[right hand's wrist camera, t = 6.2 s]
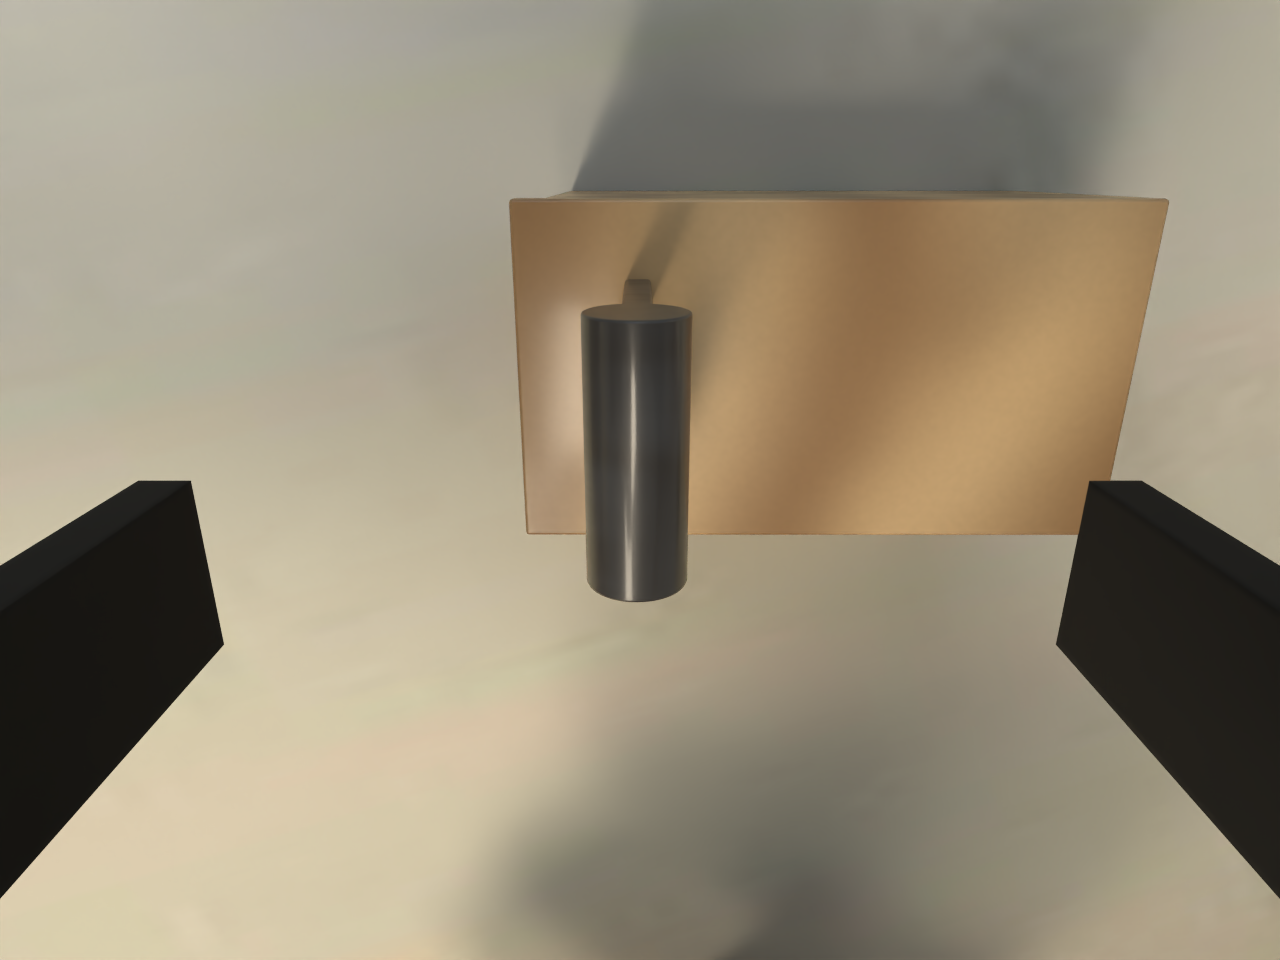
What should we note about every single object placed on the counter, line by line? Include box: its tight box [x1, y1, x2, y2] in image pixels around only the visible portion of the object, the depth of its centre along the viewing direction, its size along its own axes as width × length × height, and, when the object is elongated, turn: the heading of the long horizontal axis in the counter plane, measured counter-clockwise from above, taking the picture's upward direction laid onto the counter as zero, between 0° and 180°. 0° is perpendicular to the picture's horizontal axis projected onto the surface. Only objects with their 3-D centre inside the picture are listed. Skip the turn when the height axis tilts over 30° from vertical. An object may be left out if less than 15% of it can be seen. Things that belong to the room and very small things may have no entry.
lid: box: [509, 198, 1169, 602], centre depth 20 cm, size 17×10×8 cm, turn 90°
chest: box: [548, 191, 1142, 198], centre depth 28 cm, size 16×10×9 cm, turn 90°
